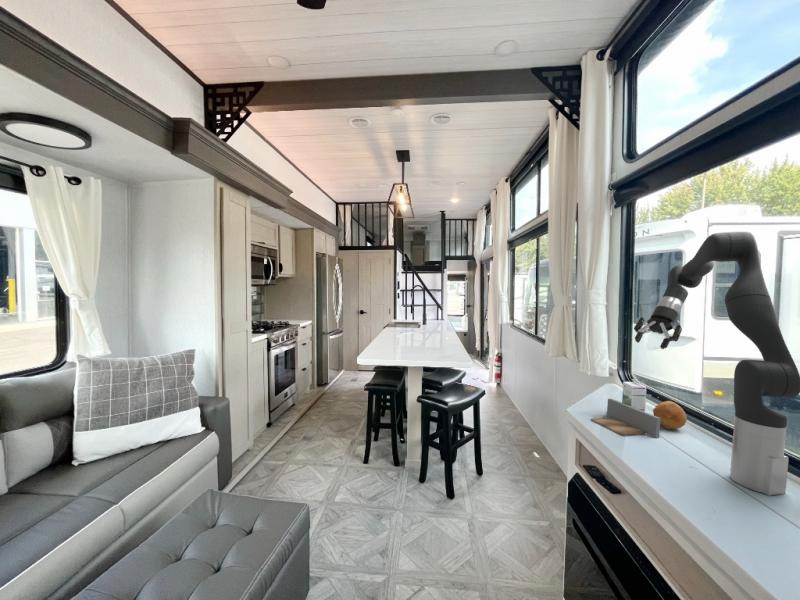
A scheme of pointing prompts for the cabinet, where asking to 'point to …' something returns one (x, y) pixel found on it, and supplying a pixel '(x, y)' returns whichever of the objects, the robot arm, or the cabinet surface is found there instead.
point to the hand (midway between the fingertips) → (649, 344)
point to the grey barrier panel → (634, 417)
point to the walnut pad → (618, 426)
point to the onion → (670, 415)
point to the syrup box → (634, 395)
